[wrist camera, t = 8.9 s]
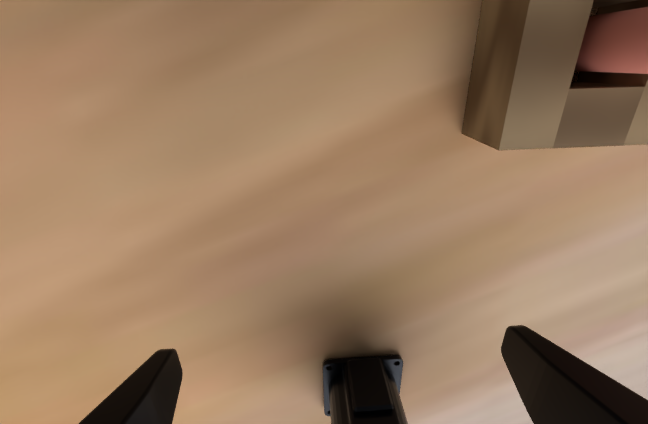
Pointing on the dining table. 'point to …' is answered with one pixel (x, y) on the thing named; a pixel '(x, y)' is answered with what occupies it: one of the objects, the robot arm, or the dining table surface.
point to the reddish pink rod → (615, 43)
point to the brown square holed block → (549, 80)
